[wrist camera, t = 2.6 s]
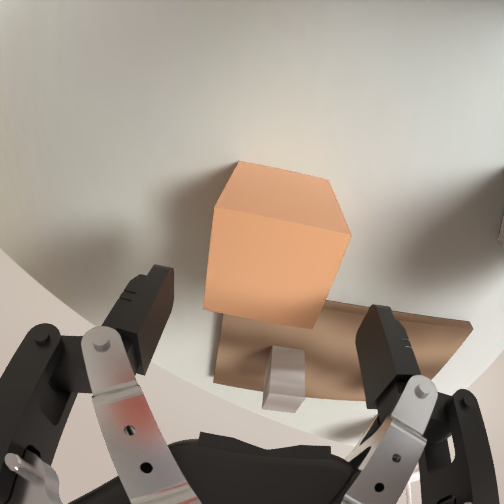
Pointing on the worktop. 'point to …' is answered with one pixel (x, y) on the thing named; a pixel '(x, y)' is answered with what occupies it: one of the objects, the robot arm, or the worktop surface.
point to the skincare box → (502, 233)
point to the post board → (320, 354)
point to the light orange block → (274, 246)
